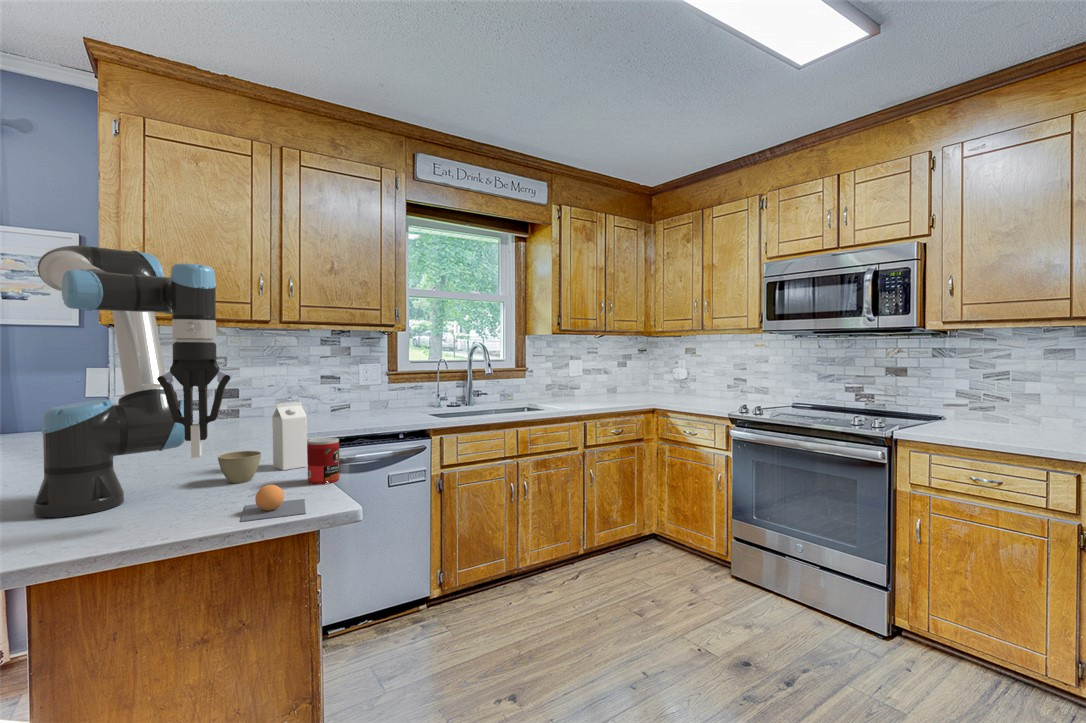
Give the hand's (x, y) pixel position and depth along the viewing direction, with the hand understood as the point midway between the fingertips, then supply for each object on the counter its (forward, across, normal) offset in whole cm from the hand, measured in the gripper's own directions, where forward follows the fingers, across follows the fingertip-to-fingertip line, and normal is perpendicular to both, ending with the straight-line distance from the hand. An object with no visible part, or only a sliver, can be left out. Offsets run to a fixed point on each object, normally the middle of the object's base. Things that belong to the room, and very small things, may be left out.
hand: (196, 456), depth 111 cm
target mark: (+13, +14, -1) cm, 19 cm away
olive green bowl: (+14, +5, +32) cm, 35 cm away
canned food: (+13, +25, +22) cm, 36 cm away
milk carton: (+14, +17, +45) cm, 50 cm away
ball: (+10, +13, 0) cm, 17 cm away
